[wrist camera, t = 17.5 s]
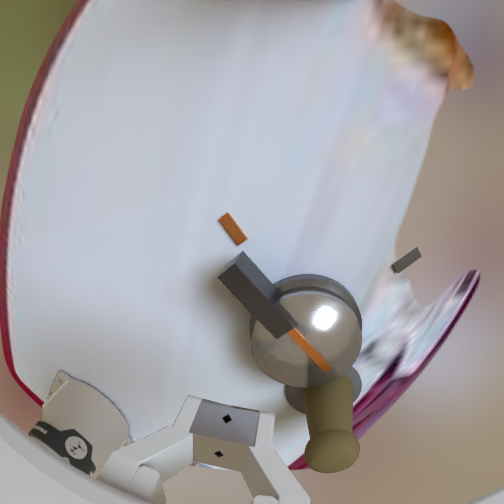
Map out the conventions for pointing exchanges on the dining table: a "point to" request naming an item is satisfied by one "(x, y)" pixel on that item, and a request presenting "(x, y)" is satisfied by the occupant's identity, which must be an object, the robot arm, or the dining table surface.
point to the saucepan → (295, 327)
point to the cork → (330, 426)
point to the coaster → (295, 393)
